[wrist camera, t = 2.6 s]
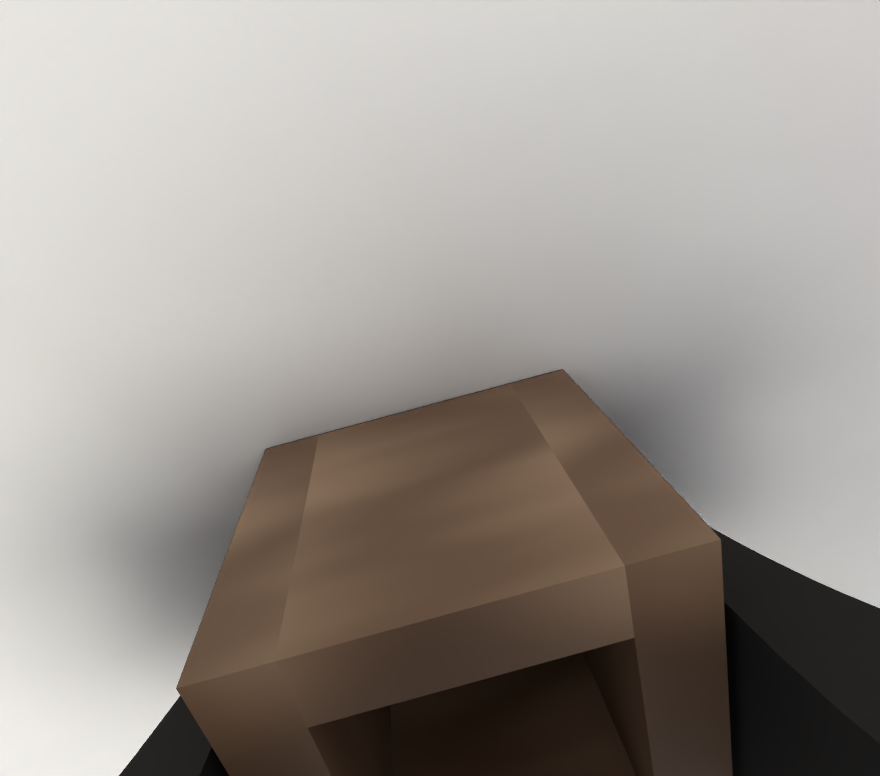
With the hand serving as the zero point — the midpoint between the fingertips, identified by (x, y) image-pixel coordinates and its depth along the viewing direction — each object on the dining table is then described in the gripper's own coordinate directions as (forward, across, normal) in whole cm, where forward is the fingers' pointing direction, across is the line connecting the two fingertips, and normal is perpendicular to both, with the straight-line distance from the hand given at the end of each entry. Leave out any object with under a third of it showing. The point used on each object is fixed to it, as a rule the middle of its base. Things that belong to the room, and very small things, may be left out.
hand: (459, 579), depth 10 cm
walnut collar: (+1, 0, 0) cm, 1 cm away
